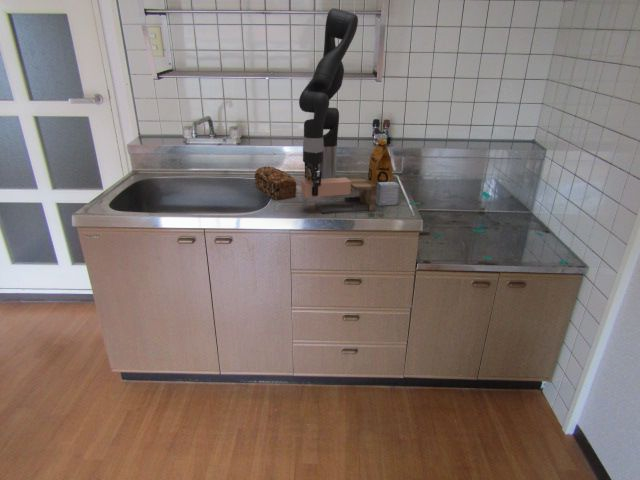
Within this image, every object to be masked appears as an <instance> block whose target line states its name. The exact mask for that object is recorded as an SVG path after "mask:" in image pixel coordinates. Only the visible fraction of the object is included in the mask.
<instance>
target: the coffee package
mask: <svg viewBox="0 0 640 480" xmlns="http://www.w3.org/2000/svg"><path fill="white" fill-rule="evenodd" d="M382 139H383V138H382ZM382 139H381V138H377V140H376V143H377V145H376V146H375V148H374V149H373V150H372V152H371V154H370V156H369V163H368V164H369V165H368V172H367V179H368V180H369V181H370V182H372V183H373V184H374V185H376V193H377V183H378V182H393V181H392V179H393V166H392V159H391V154H390V151H389V149H388V146H387V142H385V141H383V140H382Z"/></svg>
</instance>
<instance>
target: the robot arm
mask: <svg viewBox="0 0 640 480" xmlns="http://www.w3.org/2000/svg"><path fill="white" fill-rule="evenodd" d="M358 23H359V17H358V16H357V14H356V13H353V12H349V11H346V10H343V9H339V8H333V7H332V8H331V9H329V11H328V13H327V16H326V21H325V27H324V29H325V30H324V43H323V55H322V58H320V60H319V62H318V63H317V65H316V68H315V69H314V70H315V71H314V72H313V76H312V78H311V79H310V81H309V82H308V84H307V85H306V86H305V88H304V89H303V91H302V92H301V94H300V95H299V99H298V105H299V108H300V110H301V111H302V112H305V113H312V114H313V118H311V119H310V118H308V119H306V120H305V121H304V123H303V141H302V162H303V163H304V178H305V180H311V181H312V196H318V186H321V179H328V178H337V154H338V149H337V148H338V134H339V127H340V126H339V125H340V124H339V122H340V111H339V109H338V107H330V100H331V99H332V98H333V97H334V96H335V95H336V94H337V93H338V92H339V90H340V89H341V87H342V85H343V81H344V75H345V67H344V64H343V61H342V60H343V58H344V57H345V55H346V54H347V51H348V49H349V47H350V45H351V43H352V42H353V39H354V37H355V35H356V32H357V30H358ZM336 39H338V40H340V42H339V43H338V44H337V45H336ZM324 130H328V132H327V133H325V134H324ZM316 181H317V183H316Z"/></svg>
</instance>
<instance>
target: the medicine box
mask: <svg viewBox="0 0 640 480" xmlns="http://www.w3.org/2000/svg"><path fill="white" fill-rule="evenodd" d="M399 191H400V184H399V183H397V182H396V181H391V182H378V183H377V193H376V197H375V204H377V205H378V207H379V206H380V207H381V206H382V207H383V206H396V205H398V200H399V199H398V198H399Z"/></svg>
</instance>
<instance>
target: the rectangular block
mask: <svg viewBox="0 0 640 480" xmlns="http://www.w3.org/2000/svg"><path fill="white" fill-rule="evenodd" d="M347 178H348V177H346V176H344V177H336V178H328V179H321V186H318V196H312V181H311V180H306V179H303V180H301V181H300V183H301V185H300V186H301V189H300V190H301V192H300V193H301V195H303V196H304V198H305V199H307V198H317V197H318V198H319V197H320V198H321V197H331V196H346V195H351V194H352V191H351V190H352V187H351V181H350V180H349V179H347ZM316 183H317V181H316Z"/></svg>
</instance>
